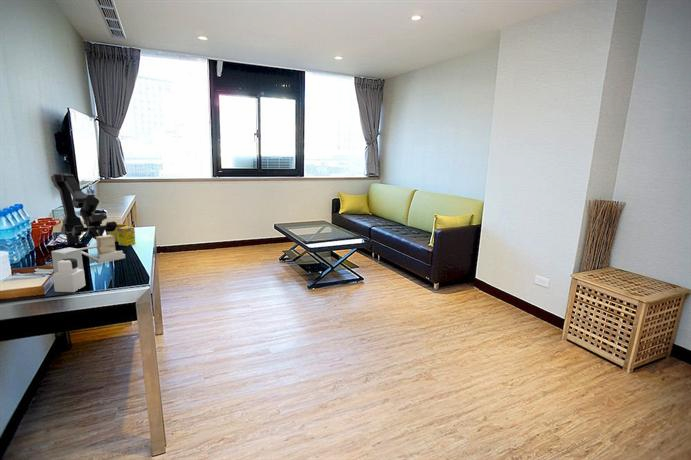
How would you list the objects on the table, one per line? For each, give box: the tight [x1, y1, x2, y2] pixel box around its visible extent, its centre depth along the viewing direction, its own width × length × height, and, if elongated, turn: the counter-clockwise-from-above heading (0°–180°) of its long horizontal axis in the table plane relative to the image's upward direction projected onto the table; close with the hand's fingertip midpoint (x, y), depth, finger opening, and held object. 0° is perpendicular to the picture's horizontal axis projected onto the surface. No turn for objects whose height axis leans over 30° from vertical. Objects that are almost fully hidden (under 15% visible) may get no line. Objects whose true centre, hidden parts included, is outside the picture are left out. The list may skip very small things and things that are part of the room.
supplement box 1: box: [50, 246, 84, 274], centre depth 146 cm, size 7×7×13 cm
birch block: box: [95, 234, 117, 258], centre depth 174 cm, size 5×6×10 cm
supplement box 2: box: [117, 225, 136, 247], centre depth 197 cm, size 6×6×11 cm
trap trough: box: [78, 245, 126, 264], centre depth 179 cm, size 26×12×4 cm, turn 57°
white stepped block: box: [52, 258, 87, 293], centre depth 137 cm, size 7×7×12 cm
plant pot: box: [107, 223, 128, 243], centre depth 204 cm, size 10×10×10 cm
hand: (101, 242), depth 176 cm, fingers closed
